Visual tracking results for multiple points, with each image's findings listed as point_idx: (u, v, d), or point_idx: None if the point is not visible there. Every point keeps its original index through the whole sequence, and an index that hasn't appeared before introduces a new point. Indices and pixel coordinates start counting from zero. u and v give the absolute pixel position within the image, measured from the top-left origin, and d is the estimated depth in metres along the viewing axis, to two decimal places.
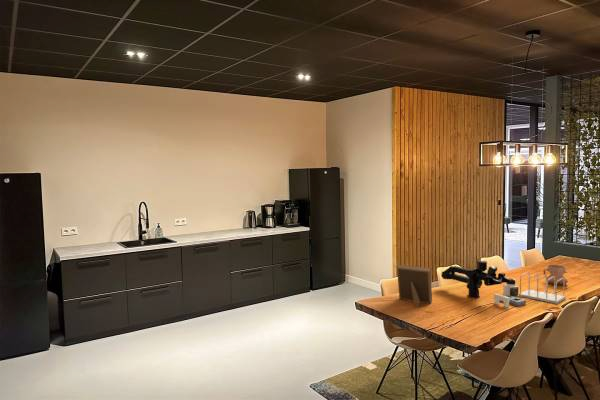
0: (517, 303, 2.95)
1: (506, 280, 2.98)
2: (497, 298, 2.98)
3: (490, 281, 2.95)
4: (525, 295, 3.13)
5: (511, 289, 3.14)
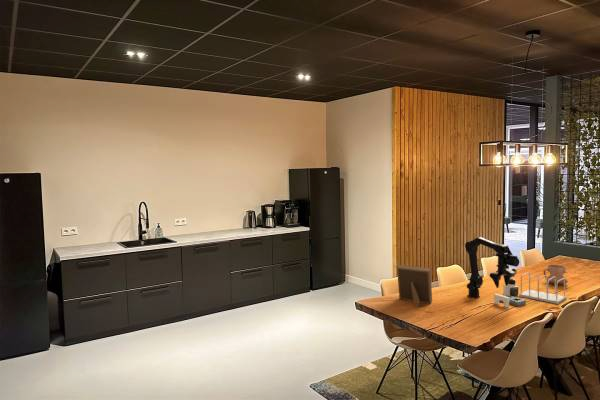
0: (517, 303, 2.95)
1: (506, 281, 2.98)
2: (497, 298, 2.98)
3: None
4: (526, 295, 3.12)
5: (511, 289, 3.14)
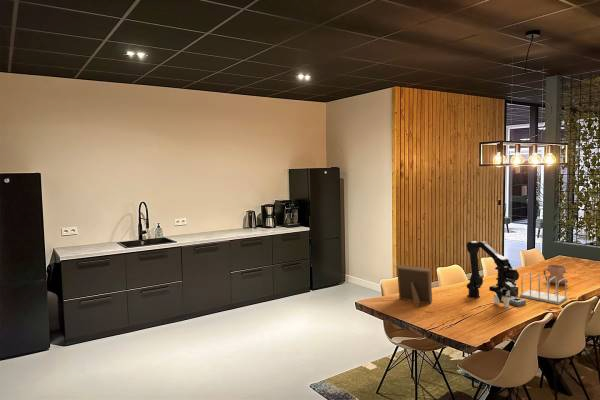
0: (517, 303, 2.95)
1: None
2: (497, 298, 2.98)
3: None
4: (526, 295, 3.12)
5: None
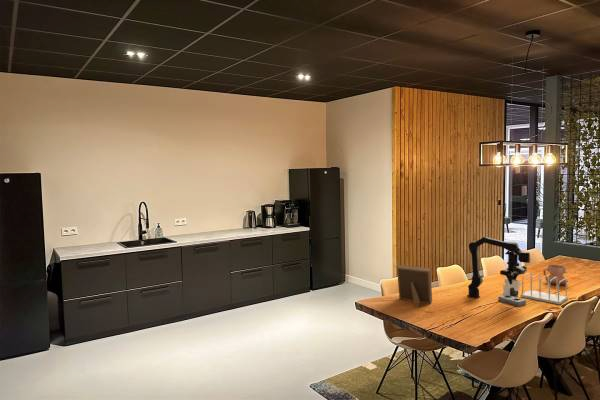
0: (517, 303, 2.95)
1: None
2: (508, 282, 3.02)
3: None
4: (527, 296, 3.11)
5: (511, 289, 3.14)
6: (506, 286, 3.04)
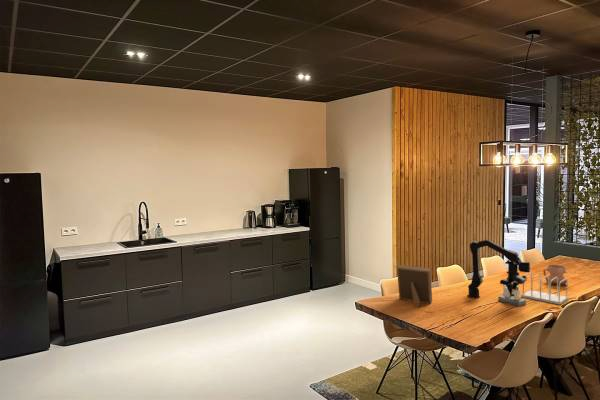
0: (517, 303, 2.95)
1: (513, 288, 3.03)
2: (508, 291, 3.03)
3: None
4: (528, 296, 3.11)
5: None
6: (506, 295, 3.04)
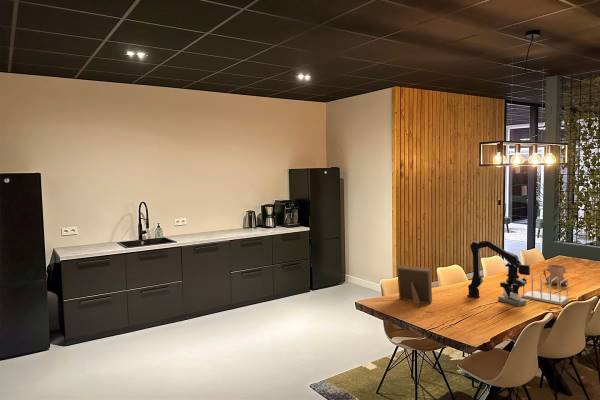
0: (517, 303, 2.95)
1: (515, 290, 3.04)
2: None
3: None
4: (528, 296, 3.10)
5: (511, 289, 3.14)
6: None
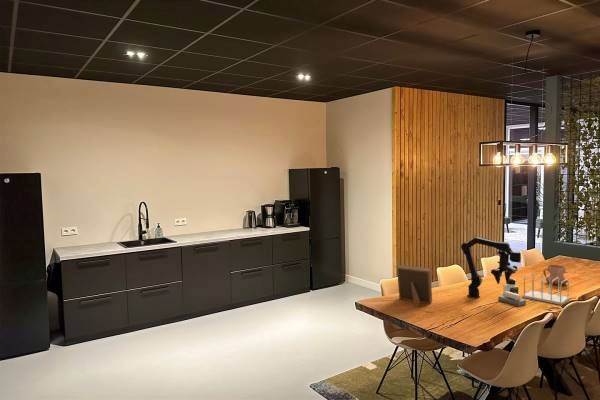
0: (517, 303, 2.95)
1: (506, 277, 3.08)
2: (508, 295, 3.03)
3: None
4: (529, 296, 3.10)
5: (511, 289, 3.14)
6: None
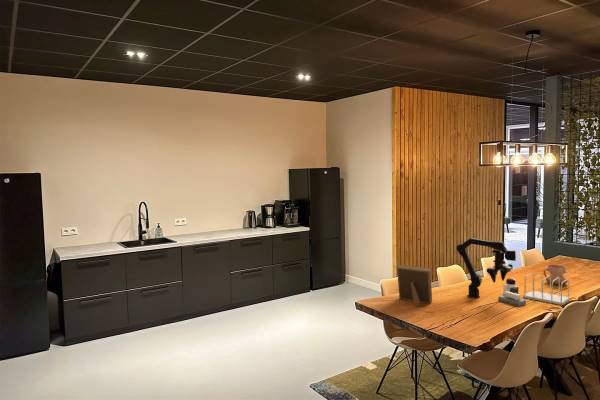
0: (517, 303, 2.95)
1: (502, 276, 3.10)
2: (508, 295, 3.03)
3: None
4: (530, 296, 3.09)
5: (511, 289, 3.14)
6: None
